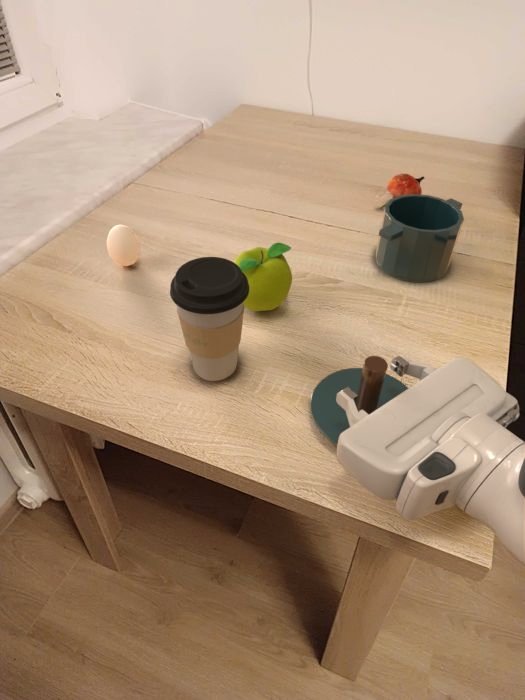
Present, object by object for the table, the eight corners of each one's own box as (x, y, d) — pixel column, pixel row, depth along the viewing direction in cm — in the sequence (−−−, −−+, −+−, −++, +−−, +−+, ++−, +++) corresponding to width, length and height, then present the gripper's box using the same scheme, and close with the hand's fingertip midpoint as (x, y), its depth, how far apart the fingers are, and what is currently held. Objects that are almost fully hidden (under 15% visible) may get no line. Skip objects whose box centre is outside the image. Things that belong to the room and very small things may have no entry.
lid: (442, 419, 61) (462, 369, 55) (369, 480, 55) (383, 432, 49) (359, 359, 68) (370, 310, 62) (287, 407, 62) (290, 358, 56)
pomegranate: (390, 228, 100) (437, 200, 96) (372, 199, 96) (420, 169, 92) (385, 214, 106) (429, 187, 102) (368, 186, 102) (413, 157, 98)
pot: (472, 260, 88) (489, 211, 81) (404, 297, 80) (417, 246, 73) (417, 231, 95) (429, 183, 88) (349, 262, 87) (357, 212, 81)
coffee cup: (168, 380, 67) (153, 289, 56) (199, 335, 73) (190, 246, 63) (234, 399, 64) (230, 308, 54) (259, 351, 71) (260, 262, 60)
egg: (105, 265, 86) (95, 227, 81) (128, 252, 89) (120, 214, 84) (126, 276, 83) (117, 238, 78) (149, 262, 86) (142, 224, 81)
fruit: (302, 310, 77) (306, 255, 71) (250, 331, 74) (250, 275, 67) (270, 280, 83) (271, 226, 76) (220, 298, 79) (217, 243, 72)
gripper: (540, 389, 52) (433, 321, 60) (409, 495, 43) (304, 398, 51) (518, 427, 56) (421, 358, 64) (394, 530, 47) (300, 435, 55)
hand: (368, 376), depth 58 cm, fingers open, 7 cm apart
